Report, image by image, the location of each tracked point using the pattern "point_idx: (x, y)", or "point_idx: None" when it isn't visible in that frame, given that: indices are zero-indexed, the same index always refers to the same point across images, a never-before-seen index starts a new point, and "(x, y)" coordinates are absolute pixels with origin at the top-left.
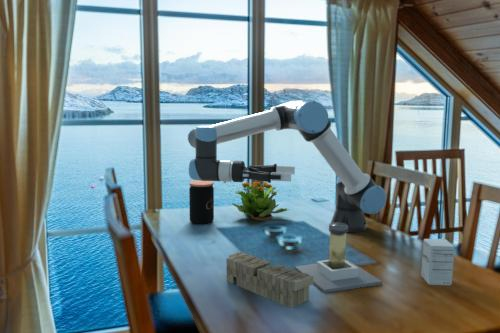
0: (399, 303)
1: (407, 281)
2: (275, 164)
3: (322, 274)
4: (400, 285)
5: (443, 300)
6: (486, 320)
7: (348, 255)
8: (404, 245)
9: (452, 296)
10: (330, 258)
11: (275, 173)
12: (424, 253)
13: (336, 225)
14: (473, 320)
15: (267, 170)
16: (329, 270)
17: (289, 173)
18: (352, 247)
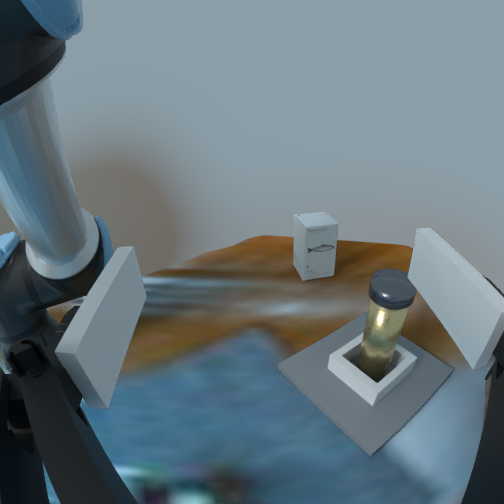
0: None
1: (333, 293)
2: (31, 350)
3: (390, 390)
4: (354, 298)
5: (374, 267)
6: (398, 247)
7: (228, 368)
8: (156, 293)
9: (357, 261)
10: (392, 354)
11: (492, 293)
12: (315, 245)
13: (402, 283)
14: (406, 253)
15: (116, 481)
16: (413, 361)
17: (434, 233)
18: (170, 362)
